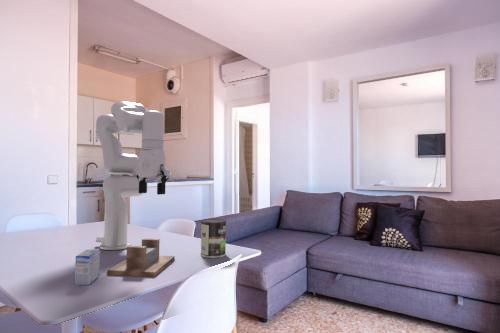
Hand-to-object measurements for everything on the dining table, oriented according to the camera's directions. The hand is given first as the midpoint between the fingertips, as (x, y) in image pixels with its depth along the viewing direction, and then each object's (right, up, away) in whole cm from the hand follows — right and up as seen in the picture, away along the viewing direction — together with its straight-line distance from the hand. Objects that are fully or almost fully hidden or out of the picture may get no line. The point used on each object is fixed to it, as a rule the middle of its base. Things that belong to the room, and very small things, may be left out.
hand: (151, 193), depth 116 cm
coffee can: (+20, -27, +17) cm, 38 cm away
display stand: (-3, -26, -1) cm, 26 cm away
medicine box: (-15, -26, -16) cm, 34 cm away
